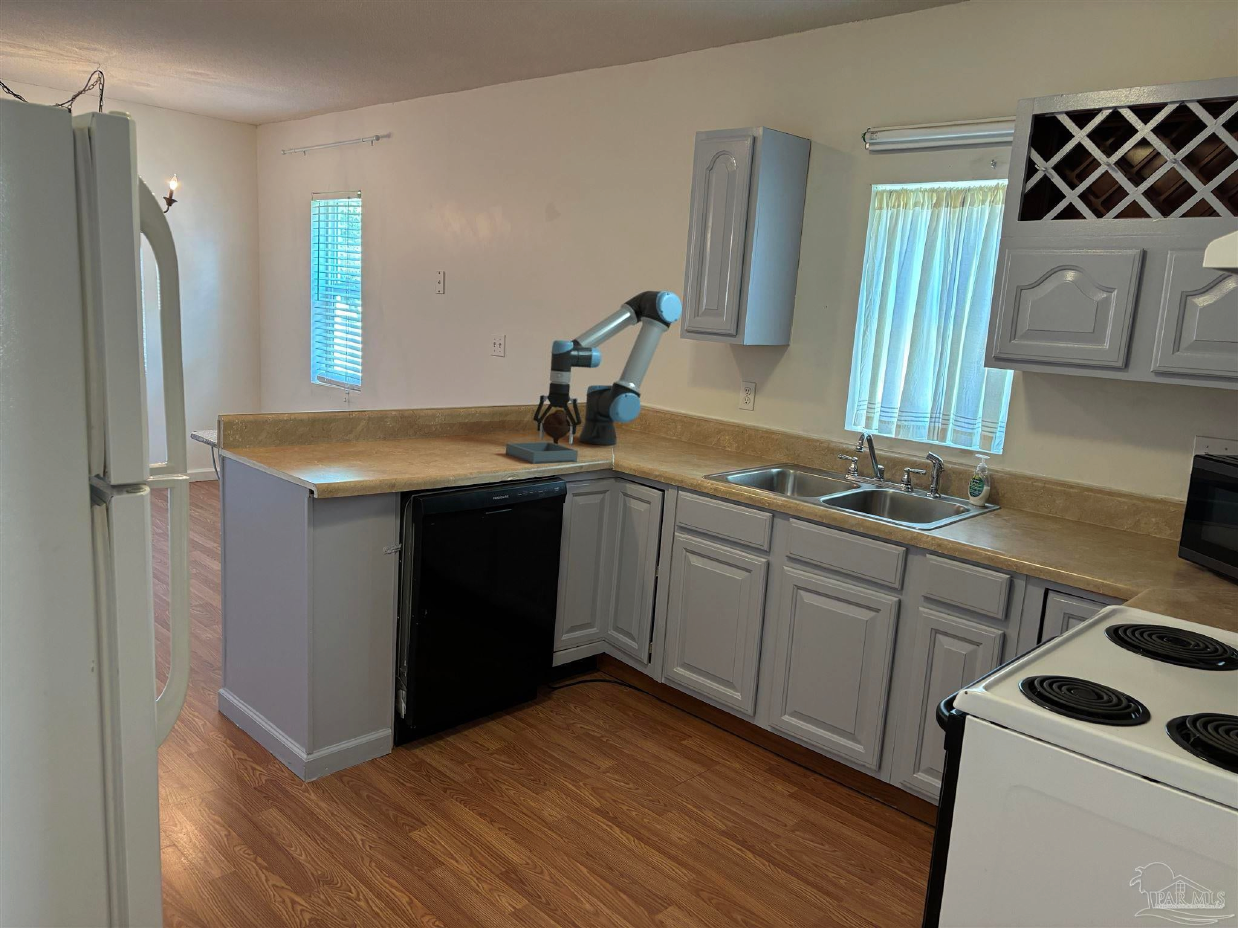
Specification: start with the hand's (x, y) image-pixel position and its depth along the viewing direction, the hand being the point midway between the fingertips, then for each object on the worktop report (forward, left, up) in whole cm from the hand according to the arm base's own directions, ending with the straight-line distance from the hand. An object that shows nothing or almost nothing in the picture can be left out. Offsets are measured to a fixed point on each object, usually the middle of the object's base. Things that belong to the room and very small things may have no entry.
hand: (555, 441), depth 329 cm
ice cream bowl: (0, 0, -3) cm, 3 cm away
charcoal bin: (+16, +15, -3) cm, 22 cm away
